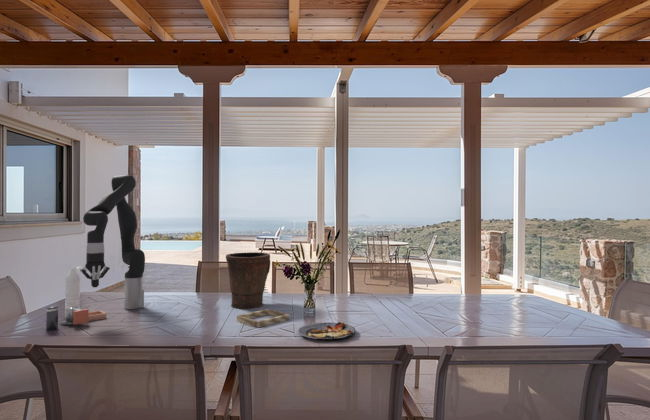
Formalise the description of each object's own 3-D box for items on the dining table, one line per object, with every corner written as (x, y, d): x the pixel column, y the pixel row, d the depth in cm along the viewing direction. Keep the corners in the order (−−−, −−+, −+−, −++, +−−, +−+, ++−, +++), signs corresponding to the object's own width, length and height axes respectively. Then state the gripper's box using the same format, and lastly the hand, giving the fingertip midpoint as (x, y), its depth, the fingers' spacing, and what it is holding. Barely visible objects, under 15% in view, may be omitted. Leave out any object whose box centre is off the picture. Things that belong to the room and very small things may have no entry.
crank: (62, 320, 188) (62, 308, 188) (75, 318, 193) (76, 306, 193) (74, 324, 181) (75, 311, 181) (88, 321, 186) (88, 309, 186)
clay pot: (282, 302, 234) (282, 252, 234) (248, 312, 209) (248, 256, 210) (251, 297, 247) (251, 250, 248) (216, 306, 223) (216, 254, 223)
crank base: (79, 319, 195) (79, 317, 195) (84, 322, 189) (84, 320, 189) (58, 322, 189) (58, 320, 189) (63, 326, 183) (63, 324, 183)
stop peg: (56, 327, 181) (56, 305, 181) (59, 329, 178) (59, 307, 178) (45, 329, 178) (45, 307, 178) (47, 331, 175) (47, 308, 175)
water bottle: (73, 317, 199) (73, 268, 199) (61, 317, 200) (62, 268, 200) (85, 313, 207) (86, 266, 208) (74, 312, 208) (75, 266, 209)
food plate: (352, 326, 183) (352, 318, 183) (358, 342, 160) (358, 334, 160) (299, 328, 182) (299, 320, 182) (297, 344, 159) (297, 336, 159)
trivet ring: (268, 313, 208) (268, 308, 208) (290, 319, 196) (290, 314, 196) (235, 320, 193) (235, 315, 193) (257, 327, 180) (257, 322, 180)
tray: (100, 315, 204) (100, 310, 204) (106, 318, 197) (106, 313, 197) (80, 318, 197) (80, 313, 197) (86, 321, 191) (86, 316, 191)
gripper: (107, 250, 199) (107, 284, 198) (77, 252, 189) (77, 288, 189) (112, 251, 194) (112, 286, 193) (82, 253, 184) (81, 290, 184)
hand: (94, 287), depth 191 cm, fingers closed
